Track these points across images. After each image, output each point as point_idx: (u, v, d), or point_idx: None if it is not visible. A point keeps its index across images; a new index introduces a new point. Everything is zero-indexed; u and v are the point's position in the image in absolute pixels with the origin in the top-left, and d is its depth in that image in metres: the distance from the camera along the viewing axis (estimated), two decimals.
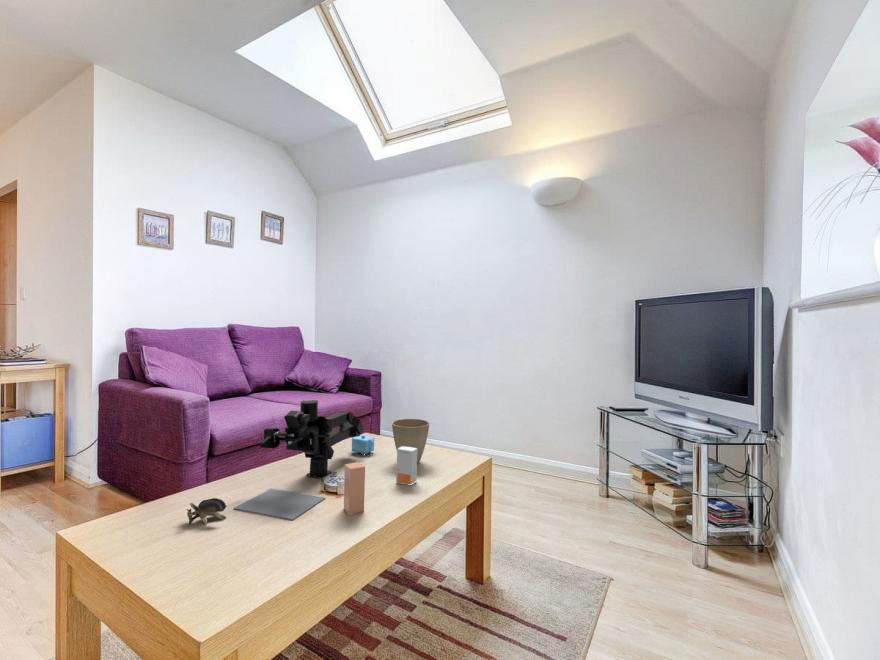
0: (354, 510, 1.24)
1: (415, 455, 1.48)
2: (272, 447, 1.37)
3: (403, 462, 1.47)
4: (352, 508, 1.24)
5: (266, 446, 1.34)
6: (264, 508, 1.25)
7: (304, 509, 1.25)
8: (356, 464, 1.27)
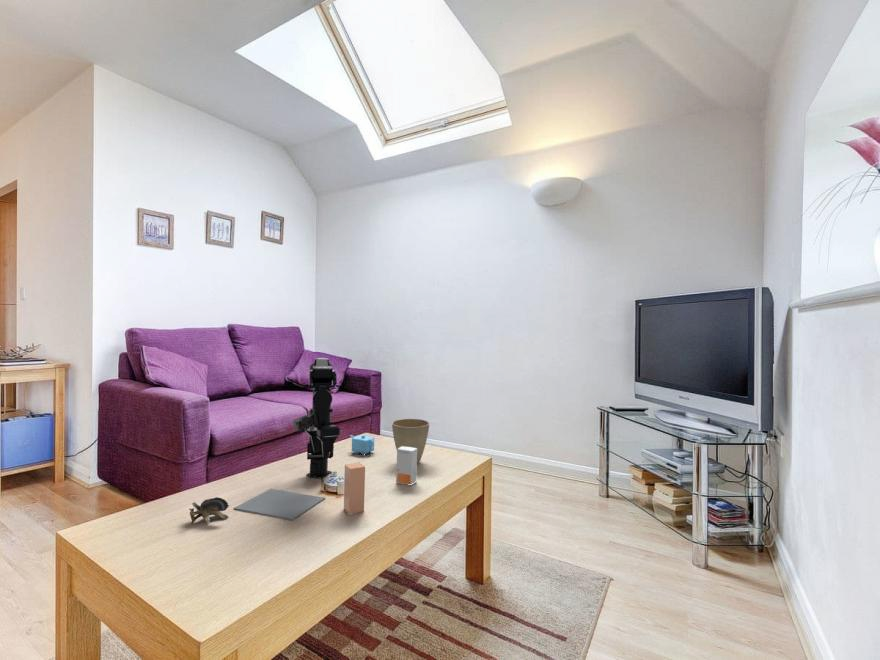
0: (354, 510, 1.24)
1: (415, 455, 1.48)
2: None
3: (403, 462, 1.47)
4: (352, 508, 1.24)
5: (318, 444, 1.42)
6: (264, 508, 1.25)
7: (304, 509, 1.25)
8: (356, 464, 1.27)
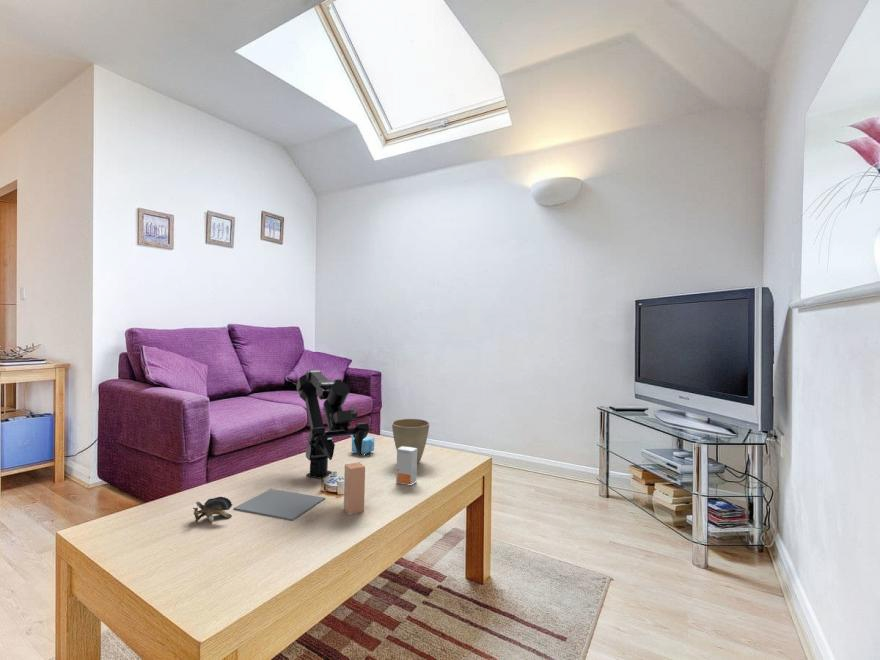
0: (354, 510, 1.24)
1: (415, 455, 1.48)
2: None
3: (403, 462, 1.47)
4: (352, 508, 1.24)
5: None
6: (264, 508, 1.25)
7: (304, 509, 1.25)
8: (356, 464, 1.27)
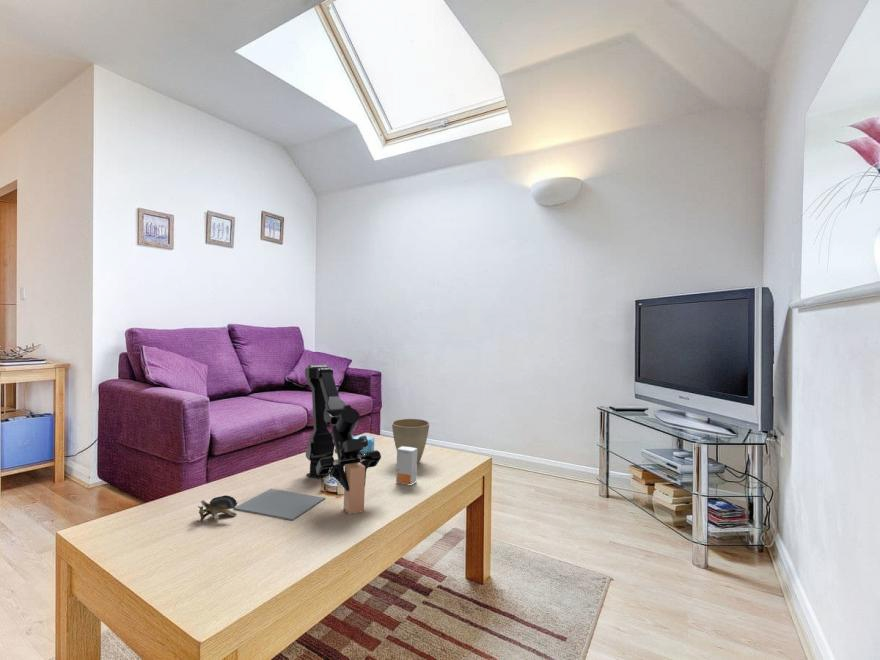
0: (354, 510, 1.24)
1: (415, 455, 1.48)
2: None
3: (403, 462, 1.47)
4: (352, 508, 1.24)
5: None
6: (264, 508, 1.25)
7: (304, 509, 1.25)
8: (356, 464, 1.27)
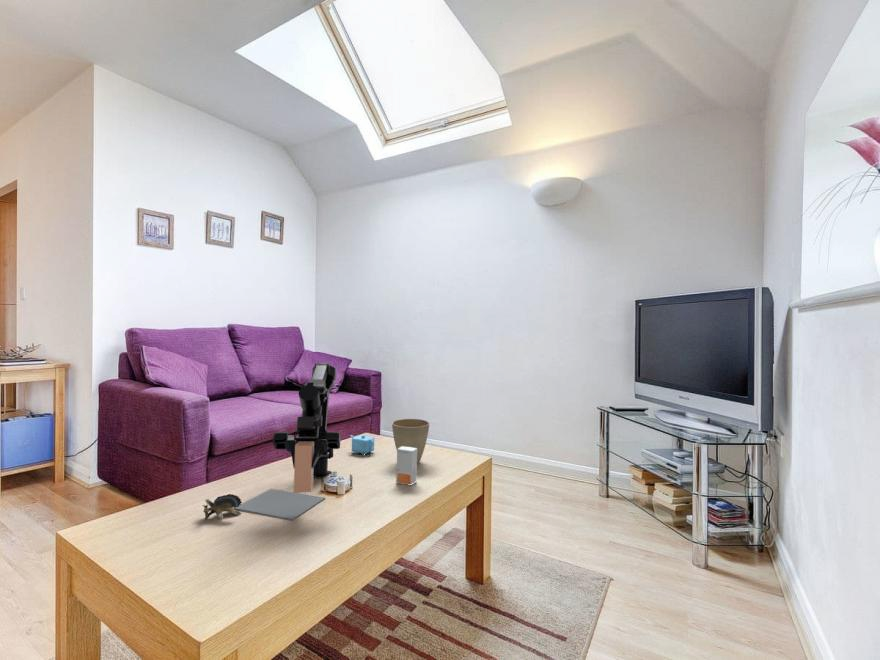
0: (299, 489, 1.21)
1: (415, 455, 1.48)
2: None
3: (403, 462, 1.47)
4: (297, 486, 1.21)
5: None
6: (264, 508, 1.25)
7: (304, 509, 1.25)
8: (307, 442, 1.24)
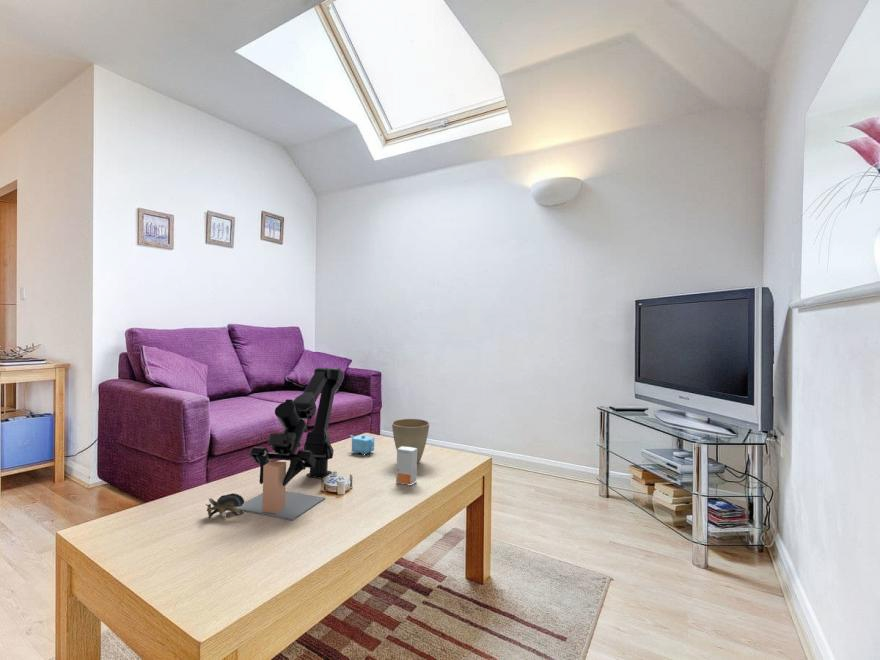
0: (267, 509, 1.22)
1: (415, 455, 1.48)
2: None
3: (403, 462, 1.47)
4: (265, 506, 1.22)
5: None
6: None
7: (304, 509, 1.25)
8: (278, 463, 1.25)
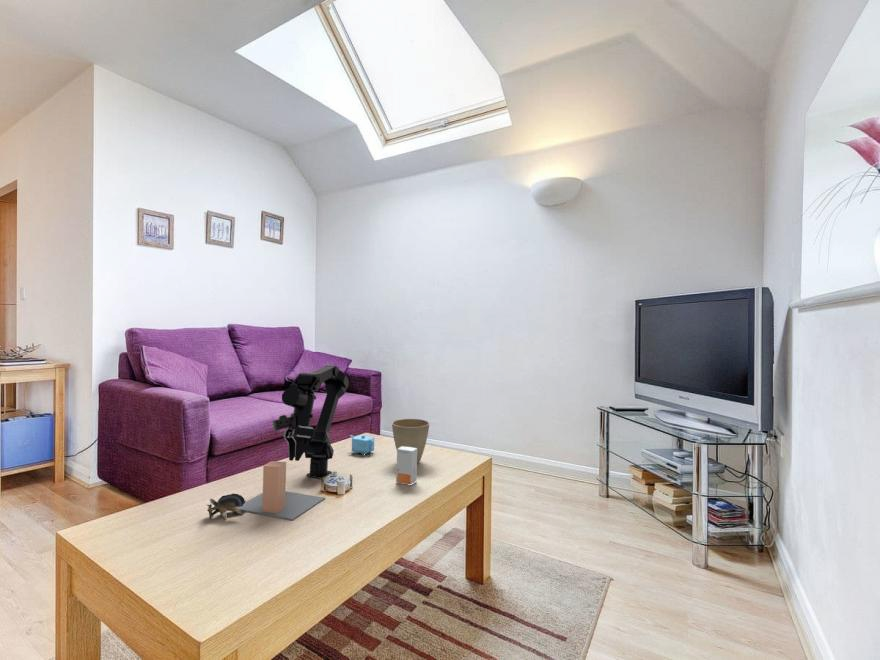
0: (267, 509, 1.22)
1: (415, 455, 1.48)
2: None
3: (403, 462, 1.47)
4: (265, 506, 1.22)
5: (295, 453, 1.41)
6: None
7: (304, 509, 1.25)
8: (278, 463, 1.25)
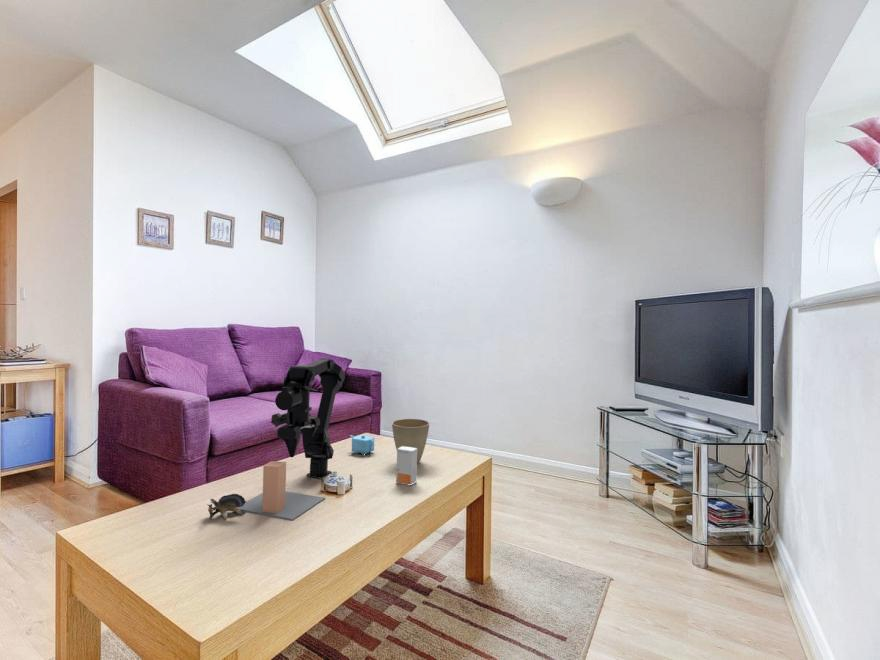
0: (267, 509, 1.22)
1: (415, 455, 1.48)
2: (312, 432, 1.45)
3: (403, 462, 1.47)
4: (265, 506, 1.22)
5: (308, 442, 1.44)
6: None
7: (304, 509, 1.25)
8: (278, 463, 1.25)
